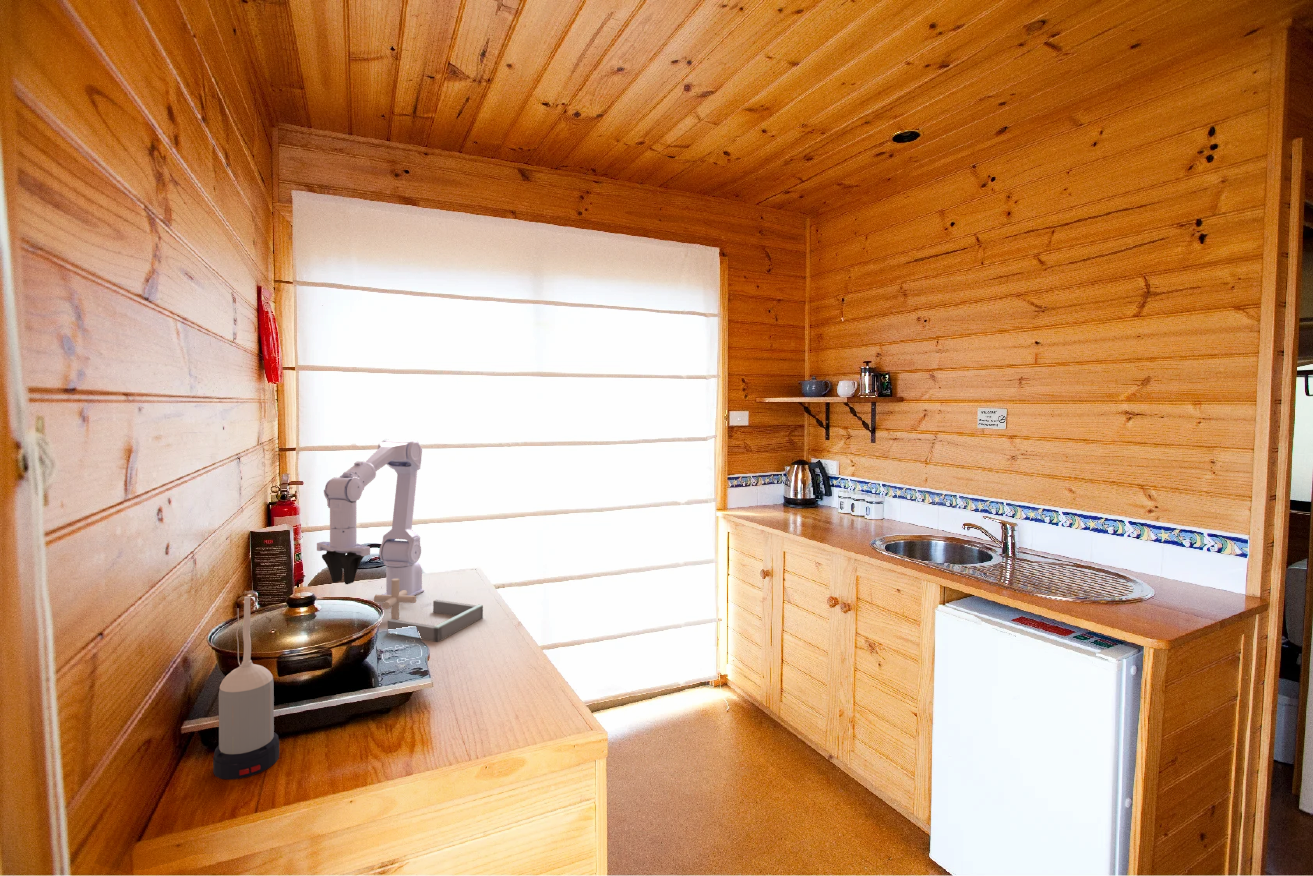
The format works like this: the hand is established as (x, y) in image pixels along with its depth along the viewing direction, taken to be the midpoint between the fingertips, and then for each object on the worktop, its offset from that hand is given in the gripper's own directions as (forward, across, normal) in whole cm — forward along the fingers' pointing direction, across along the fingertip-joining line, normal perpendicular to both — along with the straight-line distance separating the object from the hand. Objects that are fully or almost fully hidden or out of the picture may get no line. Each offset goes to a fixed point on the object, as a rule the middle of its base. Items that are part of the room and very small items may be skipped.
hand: (343, 582), depth 147 cm
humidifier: (+11, +33, -50) cm, 61 cm away
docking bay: (+10, +20, +8) cm, 24 cm away
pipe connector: (+11, +8, +8) cm, 16 cm away
